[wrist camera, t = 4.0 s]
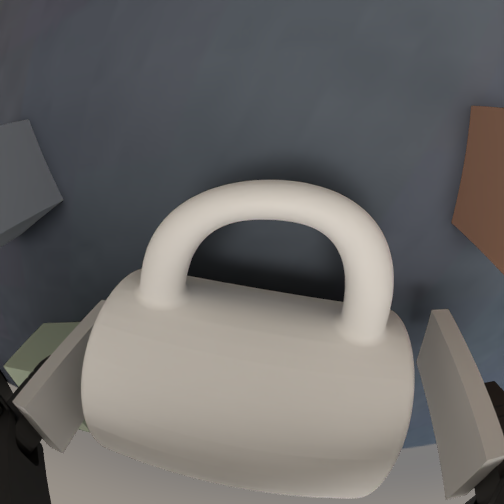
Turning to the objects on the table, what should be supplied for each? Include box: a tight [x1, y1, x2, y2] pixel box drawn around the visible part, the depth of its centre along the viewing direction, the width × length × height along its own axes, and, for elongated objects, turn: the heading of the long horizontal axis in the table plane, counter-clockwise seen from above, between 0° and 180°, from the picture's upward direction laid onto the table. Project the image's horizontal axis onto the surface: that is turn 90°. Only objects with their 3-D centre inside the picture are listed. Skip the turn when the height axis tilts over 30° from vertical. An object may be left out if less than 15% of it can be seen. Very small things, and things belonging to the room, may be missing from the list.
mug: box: [81, 180, 414, 498], centre depth 10 cm, size 12×10×8 cm
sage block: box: [4, 322, 90, 432], centre depth 16 cm, size 5×5×5 cm
